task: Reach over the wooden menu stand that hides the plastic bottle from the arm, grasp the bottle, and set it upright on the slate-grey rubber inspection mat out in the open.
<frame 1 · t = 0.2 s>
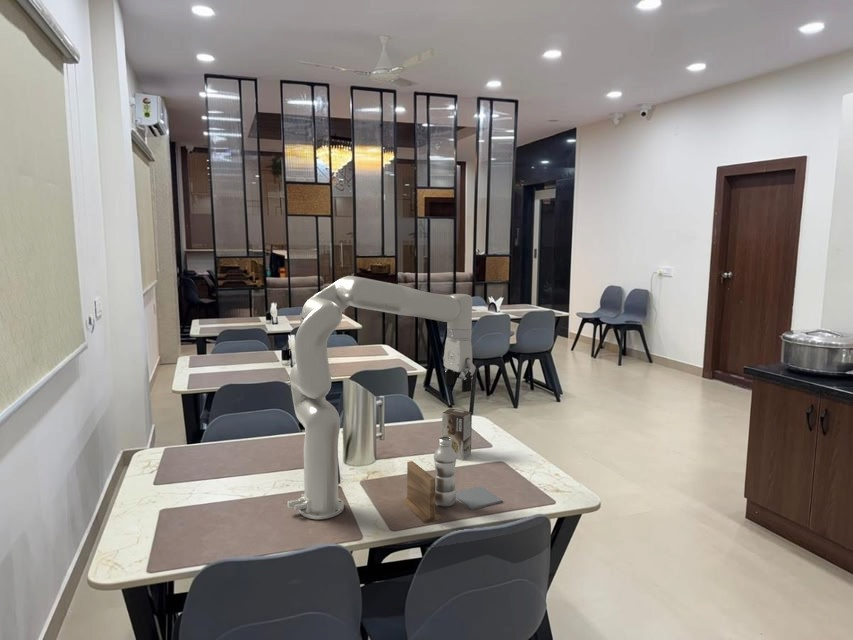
hand: (457, 387, 176), 31 cm above the table, fingers open, 9 cm apart
plastic bottle: (444, 504, 164), on the table
wooden menu stand: (420, 509, 160), on the table
coffee box: (456, 455, 202), on the table
mat: (476, 498, 168), on the table
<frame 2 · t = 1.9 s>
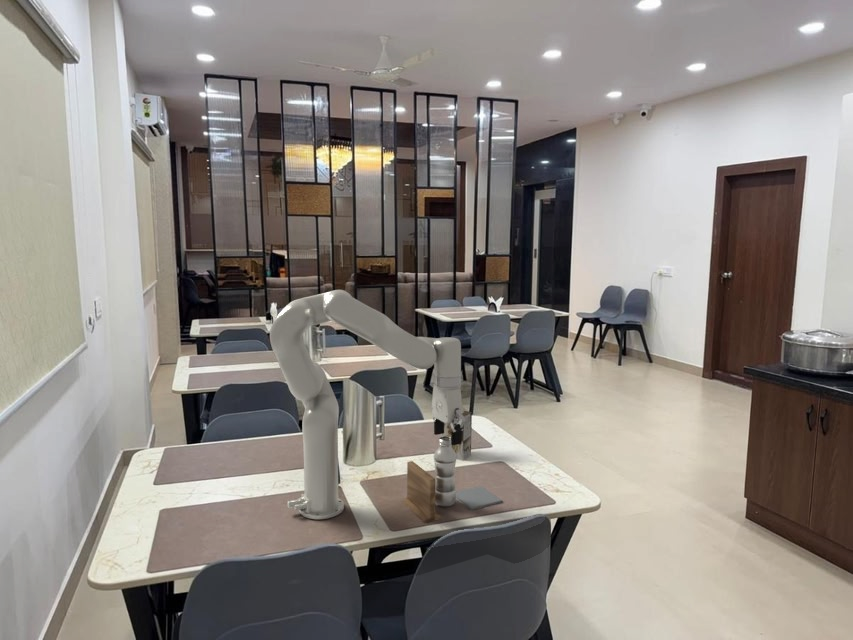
hand: (447, 438, 161), 20 cm above the table, fingers open, 9 cm apart
nothing on the table moved.
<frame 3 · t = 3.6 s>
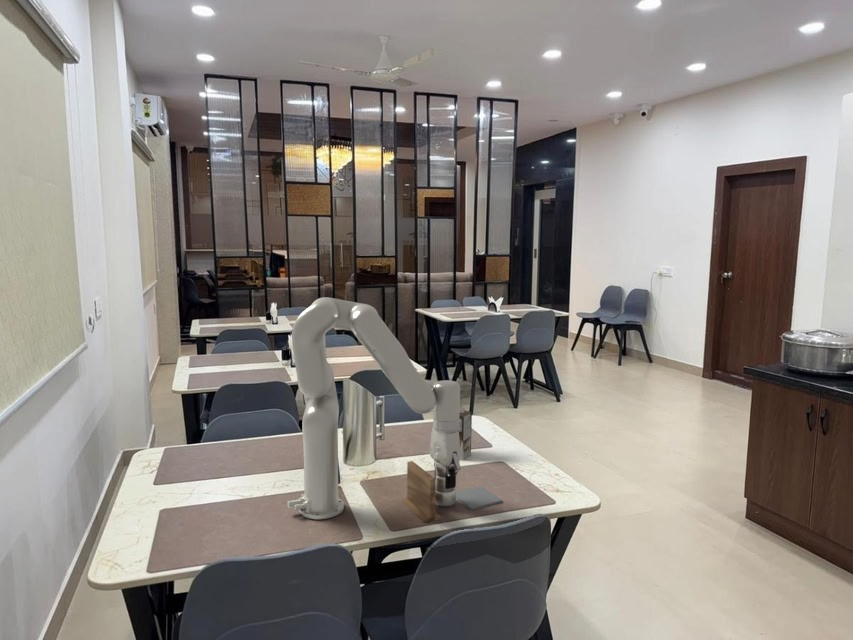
hand: (444, 483, 163), 6 cm above the table, fingers closed on plastic bottle, 5 cm apart
plastic bottle: (444, 504, 164), on the table, touching gripper
everything else where it was.
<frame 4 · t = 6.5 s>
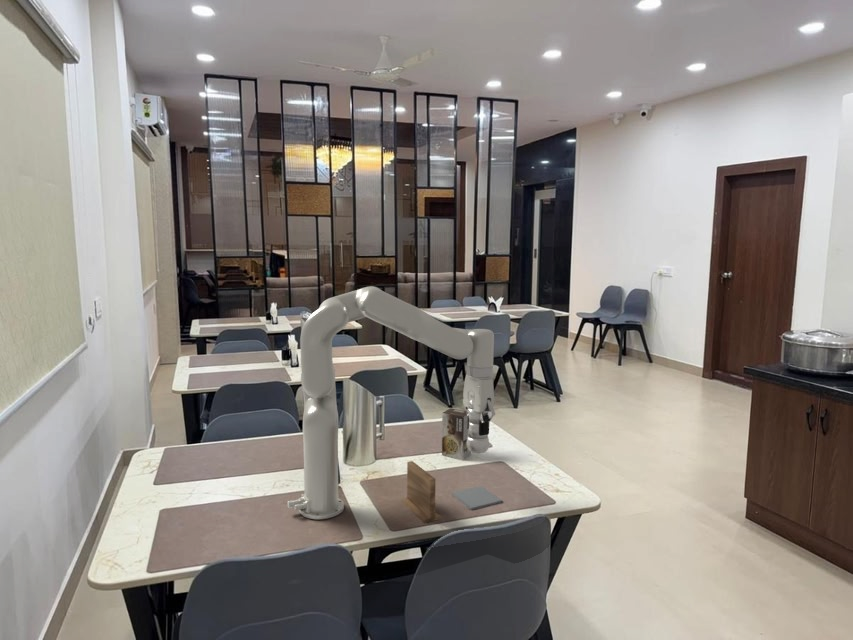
hand: (478, 430, 165), 21 cm above the table, fingers closed on plastic bottle, 5 cm apart
plastic bottle: (477, 452, 166), point 14 cm above the table, touching gripper
everything else where it was.
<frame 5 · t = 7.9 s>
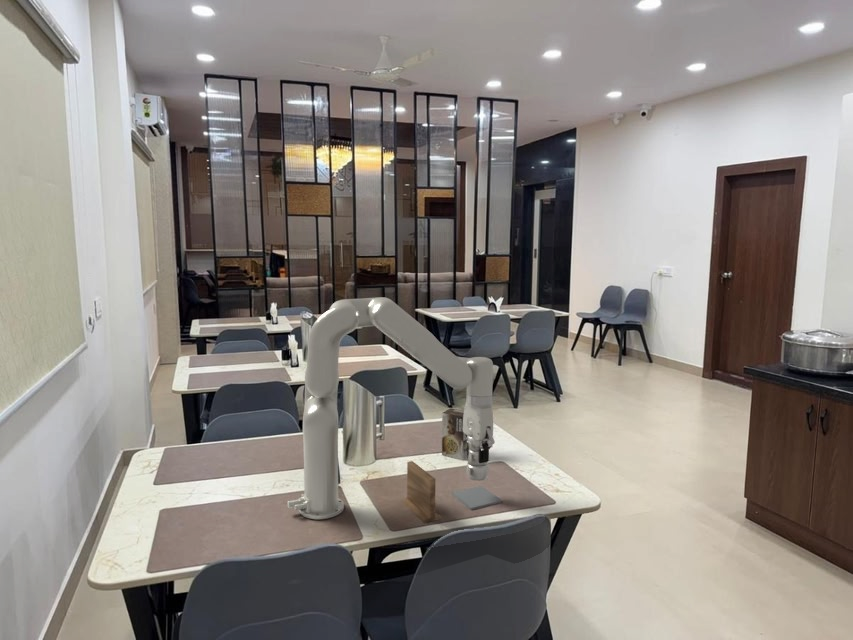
hand: (477, 458, 167), 13 cm above the table, fingers closed on plastic bottle, 5 cm apart
plastic bottle: (477, 479, 167), point 6 cm above the table, touching gripper
everything else where it was.
when the fingers open (8 cm above the table, at t = 9.3 s): plastic bottle stays where it is, resting on mat.
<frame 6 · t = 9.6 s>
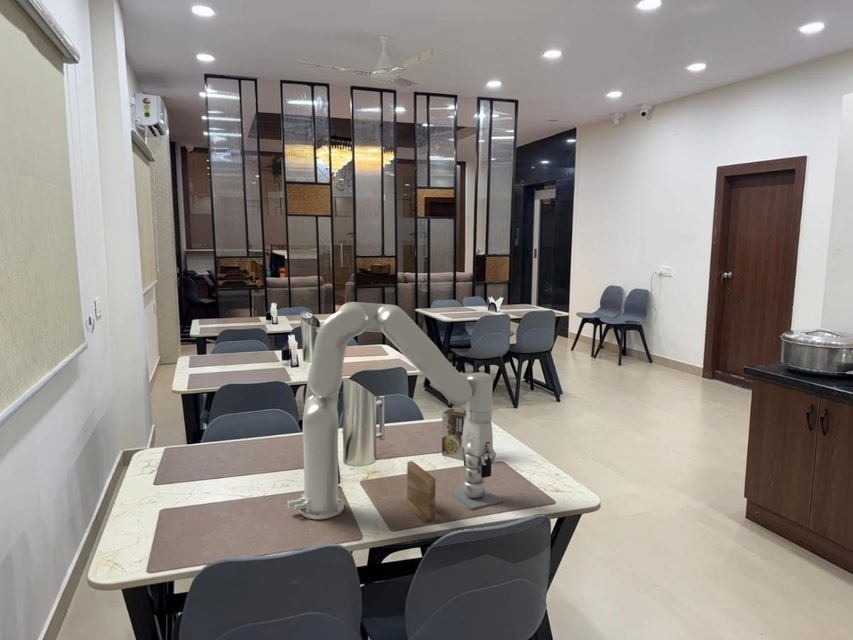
hand: (477, 470, 167), 9 cm above the table, fingers open, 8 cm apart
plastic bottle: (474, 496, 168), resting on mat
everything else where it was.
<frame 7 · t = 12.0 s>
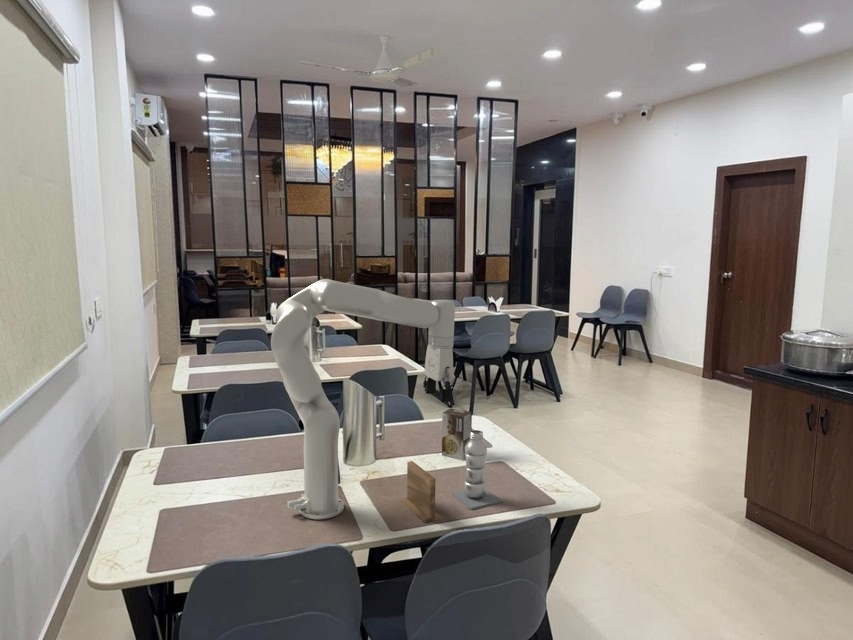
hand: (438, 397, 169), 30 cm above the table, fingers open, 9 cm apart
nothing on the table moved.
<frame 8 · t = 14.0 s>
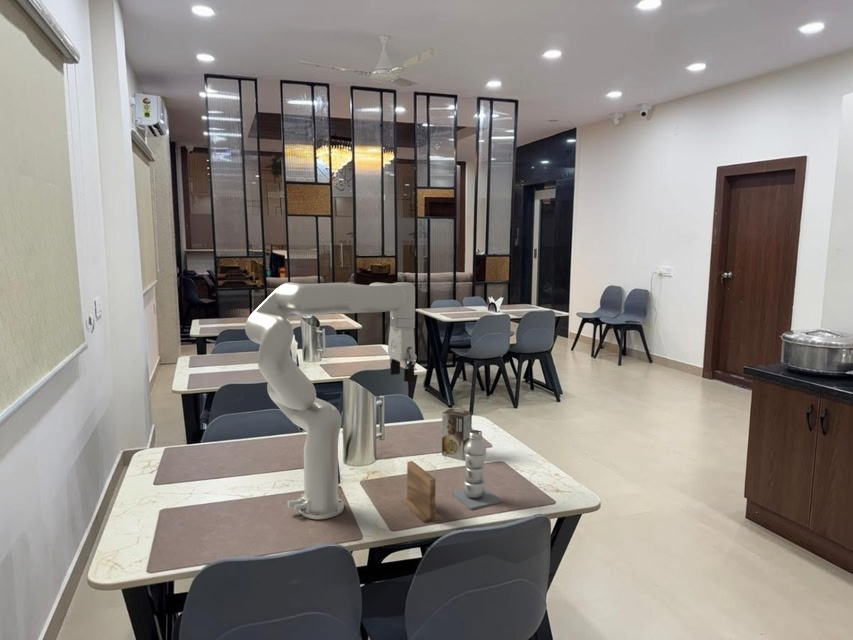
hand: (401, 377, 174), 34 cm above the table, fingers open, 9 cm apart
nothing on the table moved.
at the end: plastic bottle inside the target area on the mat (0.6 cm from its centre), point 0.4 cm above the mat's base; plastic bottle tilted 0°; the gripper is holding nothing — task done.
